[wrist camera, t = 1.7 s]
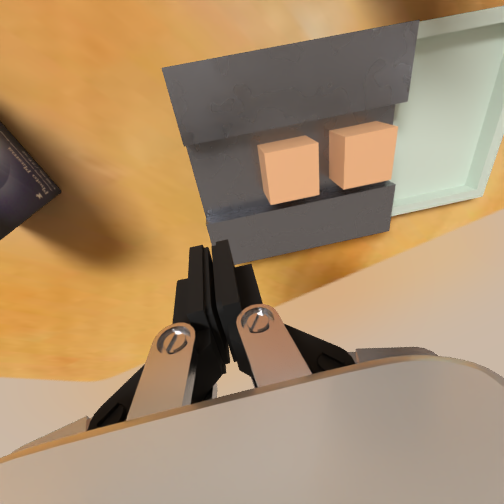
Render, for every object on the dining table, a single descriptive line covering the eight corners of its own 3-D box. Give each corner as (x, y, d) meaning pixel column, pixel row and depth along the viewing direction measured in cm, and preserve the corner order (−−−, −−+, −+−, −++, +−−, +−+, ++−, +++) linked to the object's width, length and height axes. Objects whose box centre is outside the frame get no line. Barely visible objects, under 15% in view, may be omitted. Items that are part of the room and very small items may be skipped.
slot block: (381, 29, 21) (419, 19, 18) (365, 211, 30) (388, 230, 27) (169, 69, 21) (161, 67, 17) (216, 244, 30) (218, 268, 26)
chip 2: (376, 121, 22) (398, 126, 20) (371, 169, 24) (391, 179, 22) (329, 130, 22) (345, 137, 20) (329, 178, 24) (343, 189, 22)
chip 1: (305, 135, 22) (318, 142, 19) (307, 182, 24) (319, 194, 22) (257, 145, 22) (264, 153, 19) (263, 191, 24) (270, 205, 22)
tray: (523, 3, 22) (550, -4, 20) (467, 190, 31) (482, 196, 29) (381, 29, 21) (396, 25, 20) (365, 211, 30) (375, 219, 29)
